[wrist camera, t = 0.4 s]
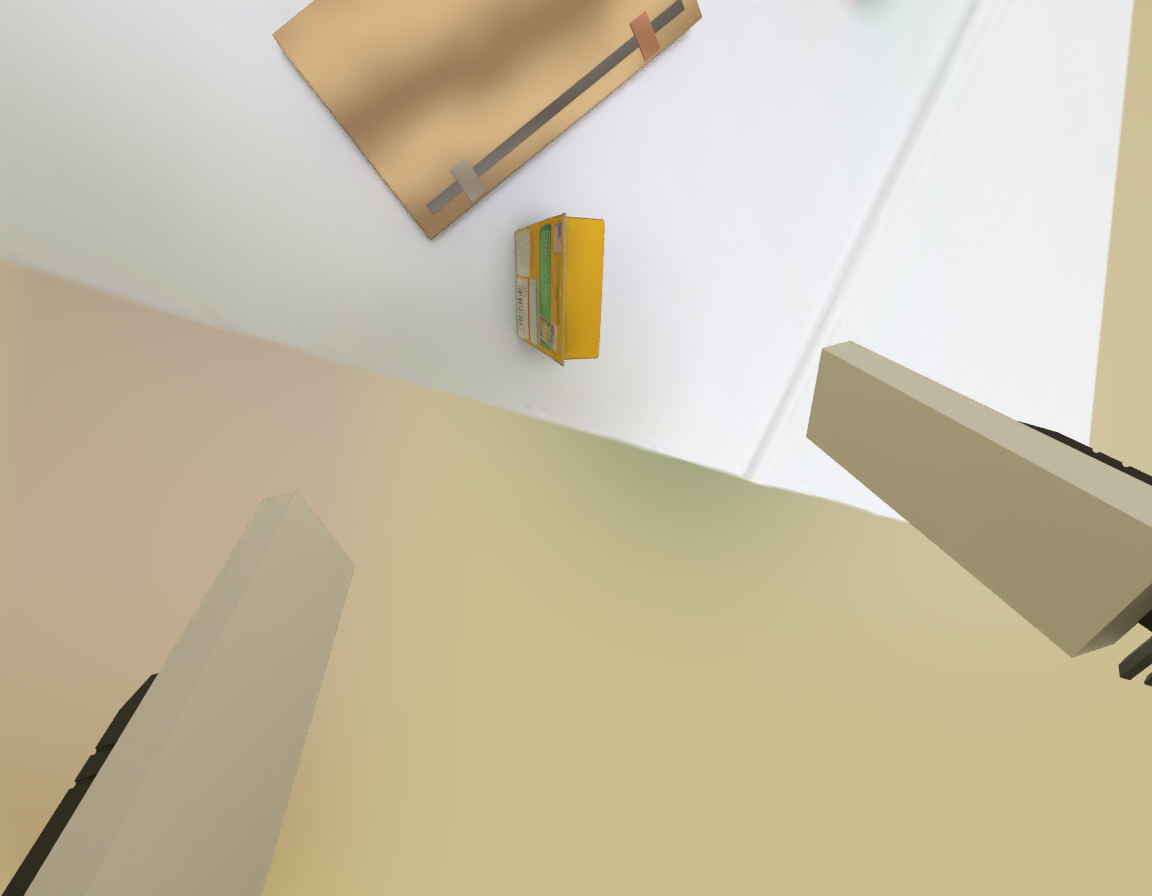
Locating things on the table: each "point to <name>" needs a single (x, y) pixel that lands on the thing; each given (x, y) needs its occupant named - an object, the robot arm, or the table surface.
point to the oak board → (469, 81)
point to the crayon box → (560, 286)
